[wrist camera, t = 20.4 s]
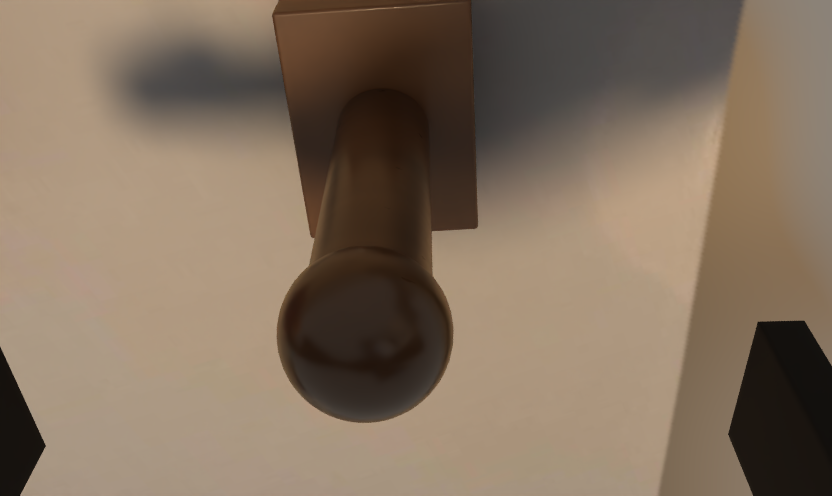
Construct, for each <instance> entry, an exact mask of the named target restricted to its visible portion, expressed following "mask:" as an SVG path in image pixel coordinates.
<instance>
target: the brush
mask: <svg viewBox="0 0 832 496" xmlns="http://www.w3.org/2000/svg"><path fill="white" fill-rule="evenodd" d="M272 18H273V23H274V29H275V35H276V41H277V46H278V52H279V58H280V63H281V69H282V75H283V81H284V86H285V92H286V98H287V104H288V109H289V115H290V121H291V127H292V132H293V138H294V144H295V149H296V155H297V161H298V167H299V172H300V178H301V184H302V190H303V195H304V201H305V207H306V213H307V218H308V224H309V230H310V235H311V237H312V238H315V239H314V244H313V249H312V254H311V259H310V264H309V266H308V267H307V268H306V269H305V270H304V271H303V272H302V273H301V274H300V275H299V276H298V278H297V279H296V280H295V281H294V283H293V284H292V286H291V287H290V289H289V291H288V292H287V294H286V296H285V298H284V301H283V303H282V306H281V309H280V313H279V317H278V324H277V346H278V353H279V356H280V360H281V363H282V366H283V369H284V371H285V373H286V375H287V377H288V379H289V381H290V382H291V384H292V385H293V387H294V388H295V389H296V390H297V391H298V393H299V394H300V395H301V396H302V397H303V398H304V399H305V400H306V401H307V402H308V403H310V404H311V405H312V406H314V407H315V408H317V409H318V410H320V411H322V412H323V413H325V414H327V415H329V416H332V417H334V418H337V419H341V420H344V421H350V422H358V423H371V422H380V421H385V420H388V419H392V418H394V417H397V416H399V415H402V414H404V413H406V412H408V411H409V410H411V409H413V408H414V407H415V406H417V405H418V404H419V403H421V402H422V401H423V400H424V399H425V398H426V397H427V396H428V395H429V394H430V393H431V392H432V391H433V389H434V388H435V387H436V386H437V384H438V383H439V381H440V380H441V378H442V376H443V374H444V372H445V370H446V368H447V365H448V363H449V360H450V356H451V351H452V346H453V322H452V315H451V311H450V308H449V304H448V302H447V299H446V297H445V295H444V293H443V291H442V289H441V287H440V286H439V284H438V283H437V282H436V280H435V279H434V277H433V272H432V231H443V230H460V229H476V228H477V227H478V210H477V178H476V145H475V113H474V80H473V48H472V15H471V0H279V2H278V4H277V6H276V8H275V10H274V12H273V14H272Z"/></svg>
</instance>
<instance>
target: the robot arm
mask: <svg viewBox="0 0 832 496" xmlns="http://www.w3.org/2000/svg"><path fill="white" fill-rule="evenodd" d="M728 435H729V437H730V440H731V442H732V445H733V447H734V449H735V452H736V455H737V457H738V459H739V462H740V464H741V467H742V469H743V472H744V474H745V477H746V479H747V482H748V484H749V486H750V489H751V491H752V494H753V496H832V366H831V364H830V362H829V361H828V359H827V357H826V356H825V354H824V353H823V351H822V349H821V348H820V346H819V344H818V343H817V341H816V339H815V338H814V336H813V334H812V333H811V331H810V329H809V328H808V326H807V324H806V323H805V321H775V322H774V321H772V322H771V321H770V322H758V323H757V327H756V331H755V335H754V339H753V343H752V346H751V350H750V354H749V358H748V361H747V365H746V369H745V373H744V377H743V380H742V384H741V388H740V392H739V395H738V399H737V403H736V407H735V411H734V414H733V418H732V422H731V426H730V430H729V433H728ZM45 447H46V445H45V443H44V441H43V439H42V437H41V434H40V432H39V430H38V428H37V426H36V424H35V421H34V419H33V417H32V415H31V413H30V411H29V408H28V406H27V404H26V402H25V400H24V397H23V395H22V393H21V391H20V389H19V387H18V384H17V382H16V380H15V378H14V376H13V374H12V371H11V369H10V367H9V365H8V363H7V361H6V358H5V356H4V354H3V352H2V350H1V347H0V496H20V494H21V492H22V490H23V489H24V487H25V485H26V483H27V481H28V479H29V477H30V475H31V473H32V471H33V469H34V468H35V466H36V464H37V462H38V460H39V458H40V456H41V454H42V452H43V450H44V448H45Z"/></svg>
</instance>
